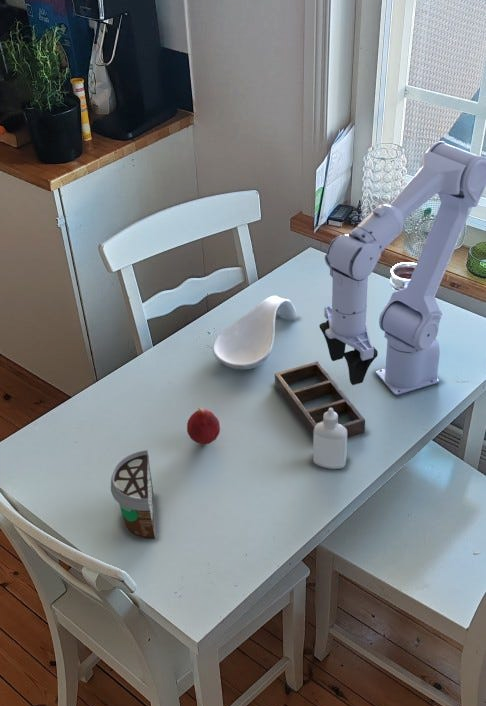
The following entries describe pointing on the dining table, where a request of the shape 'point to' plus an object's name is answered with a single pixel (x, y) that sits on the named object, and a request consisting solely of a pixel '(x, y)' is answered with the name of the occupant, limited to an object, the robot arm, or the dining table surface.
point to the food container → (135, 494)
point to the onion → (203, 426)
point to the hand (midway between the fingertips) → (346, 370)
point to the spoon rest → (252, 335)
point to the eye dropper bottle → (330, 442)
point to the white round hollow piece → (401, 275)
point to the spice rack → (315, 392)
